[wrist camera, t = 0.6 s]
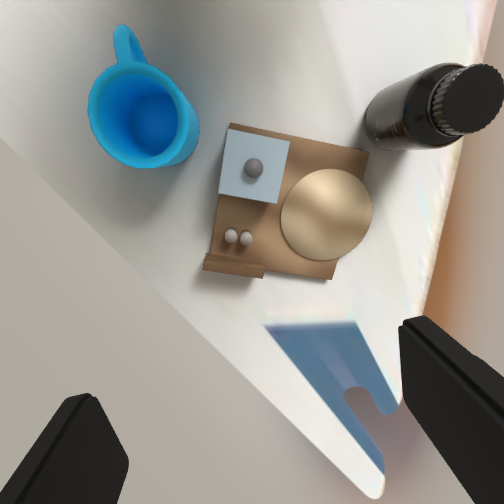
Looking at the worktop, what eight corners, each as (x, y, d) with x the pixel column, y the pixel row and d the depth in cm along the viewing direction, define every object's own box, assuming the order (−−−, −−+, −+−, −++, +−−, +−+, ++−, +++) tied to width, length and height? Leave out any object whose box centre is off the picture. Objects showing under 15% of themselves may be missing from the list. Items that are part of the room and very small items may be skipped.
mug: (207, 157, 33) (199, 157, 25) (138, 173, 33) (109, 177, 25) (177, 35, 29) (157, -9, 21) (99, 53, 29) (50, 15, 21)
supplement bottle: (399, 70, 31) (495, 21, 20) (432, 120, 33) (536, 101, 22) (350, 117, 32) (413, 96, 21) (384, 163, 34) (459, 167, 23)
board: (225, 122, 32) (224, 118, 28) (384, 156, 34) (404, 156, 30) (205, 257, 36) (202, 269, 33) (346, 279, 39) (359, 293, 35)
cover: (228, 132, 31) (227, 127, 26) (282, 143, 31) (291, 141, 27) (219, 188, 32) (217, 194, 28) (271, 198, 33) (278, 205, 28)
